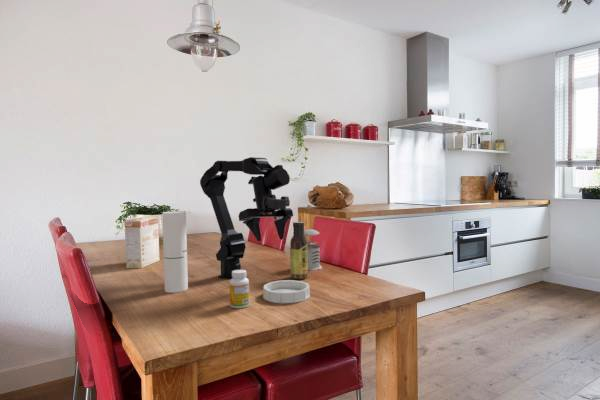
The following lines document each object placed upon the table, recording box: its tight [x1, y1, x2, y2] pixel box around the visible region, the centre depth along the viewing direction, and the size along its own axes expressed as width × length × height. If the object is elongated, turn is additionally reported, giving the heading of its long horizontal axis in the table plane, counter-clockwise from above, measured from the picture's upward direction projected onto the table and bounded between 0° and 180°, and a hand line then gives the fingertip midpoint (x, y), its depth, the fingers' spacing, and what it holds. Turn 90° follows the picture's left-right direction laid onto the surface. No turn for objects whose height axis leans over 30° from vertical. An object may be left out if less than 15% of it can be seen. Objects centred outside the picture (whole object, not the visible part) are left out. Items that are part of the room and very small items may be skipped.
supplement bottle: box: [229, 269, 250, 309], centre depth 108 cm, size 5×5×10 cm
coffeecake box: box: [124, 216, 160, 269], centre depth 162 cm, size 15×7×20 cm, turn 172°
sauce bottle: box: [289, 221, 309, 280], centre depth 137 cm, size 7×6×20 cm
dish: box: [262, 279, 311, 304], centre depth 116 cm, size 14×14×3 cm
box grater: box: [304, 204, 323, 271], centre depth 152 cm, size 10×12×25 cm
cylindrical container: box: [162, 210, 189, 294], centre depth 124 cm, size 7×7×25 cm
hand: (271, 240), depth 124 cm, fingers open, 9 cm apart
